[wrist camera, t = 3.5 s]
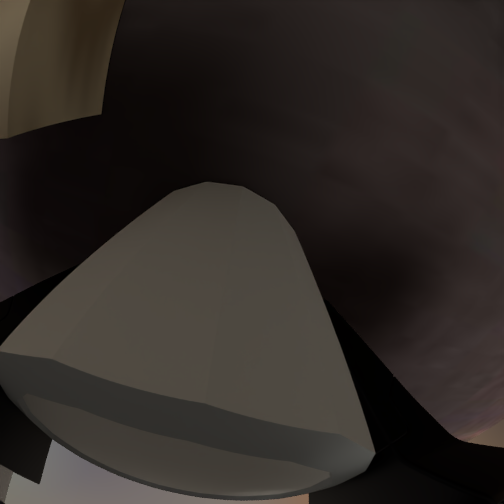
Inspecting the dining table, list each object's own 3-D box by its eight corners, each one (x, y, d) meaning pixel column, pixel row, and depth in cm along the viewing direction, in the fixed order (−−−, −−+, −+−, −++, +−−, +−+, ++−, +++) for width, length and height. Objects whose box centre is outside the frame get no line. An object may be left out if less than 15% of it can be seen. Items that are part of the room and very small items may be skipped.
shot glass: (105, 174, 8) (-64, 315, 2) (323, 157, 7) (483, 366, 1) (151, 328, 11) (101, 473, 5) (310, 330, 11) (329, 499, 5)
